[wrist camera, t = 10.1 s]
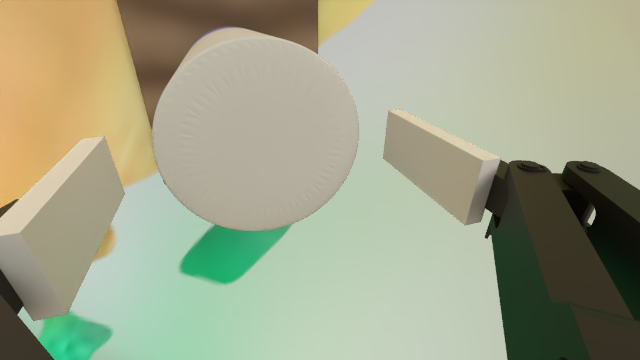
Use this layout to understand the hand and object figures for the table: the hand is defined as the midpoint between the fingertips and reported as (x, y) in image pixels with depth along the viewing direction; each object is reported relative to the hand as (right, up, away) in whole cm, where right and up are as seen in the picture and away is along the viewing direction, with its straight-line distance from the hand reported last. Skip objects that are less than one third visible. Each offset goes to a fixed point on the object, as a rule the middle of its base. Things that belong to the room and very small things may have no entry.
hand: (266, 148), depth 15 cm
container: (-6, +9, +17) cm, 20 cm away
